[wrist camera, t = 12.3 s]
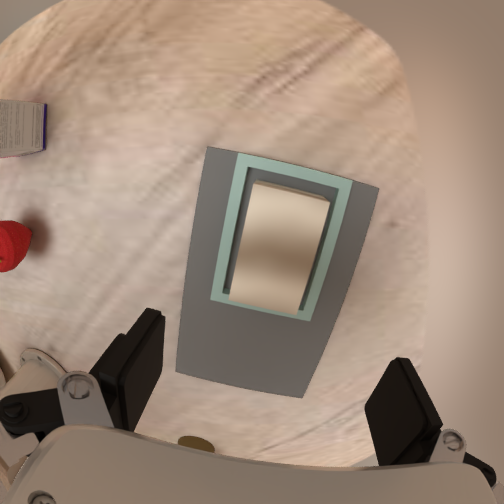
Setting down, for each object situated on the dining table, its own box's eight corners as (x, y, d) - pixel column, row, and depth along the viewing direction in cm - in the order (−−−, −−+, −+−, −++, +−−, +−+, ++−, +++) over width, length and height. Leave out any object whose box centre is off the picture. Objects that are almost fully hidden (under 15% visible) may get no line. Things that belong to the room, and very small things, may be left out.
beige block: (256, 179, 26) (253, 183, 22) (322, 195, 26) (330, 202, 22) (234, 281, 29) (228, 300, 25) (294, 294, 29) (296, 315, 25)
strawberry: (55, 250, 30) (-1, 282, 21) (22, 259, 31) (-28, 288, 22) (42, 203, 29) (-18, 225, 19) (10, 218, 30) (-44, 240, 20)
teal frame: (308, 315, 30) (310, 321, 29) (212, 294, 30) (210, 299, 29) (349, 179, 25) (352, 180, 24) (239, 152, 25) (238, 152, 24)
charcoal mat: (302, 396, 34) (302, 398, 34) (176, 369, 34) (175, 371, 34) (377, 187, 26) (379, 188, 25) (208, 146, 26) (207, 146, 25)
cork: (177, 432, 39) (158, 488, 28) (215, 440, 39) (203, 499, 28) (178, 450, 41) (162, 502, 30) (213, 458, 41) (202, 511, 30)
